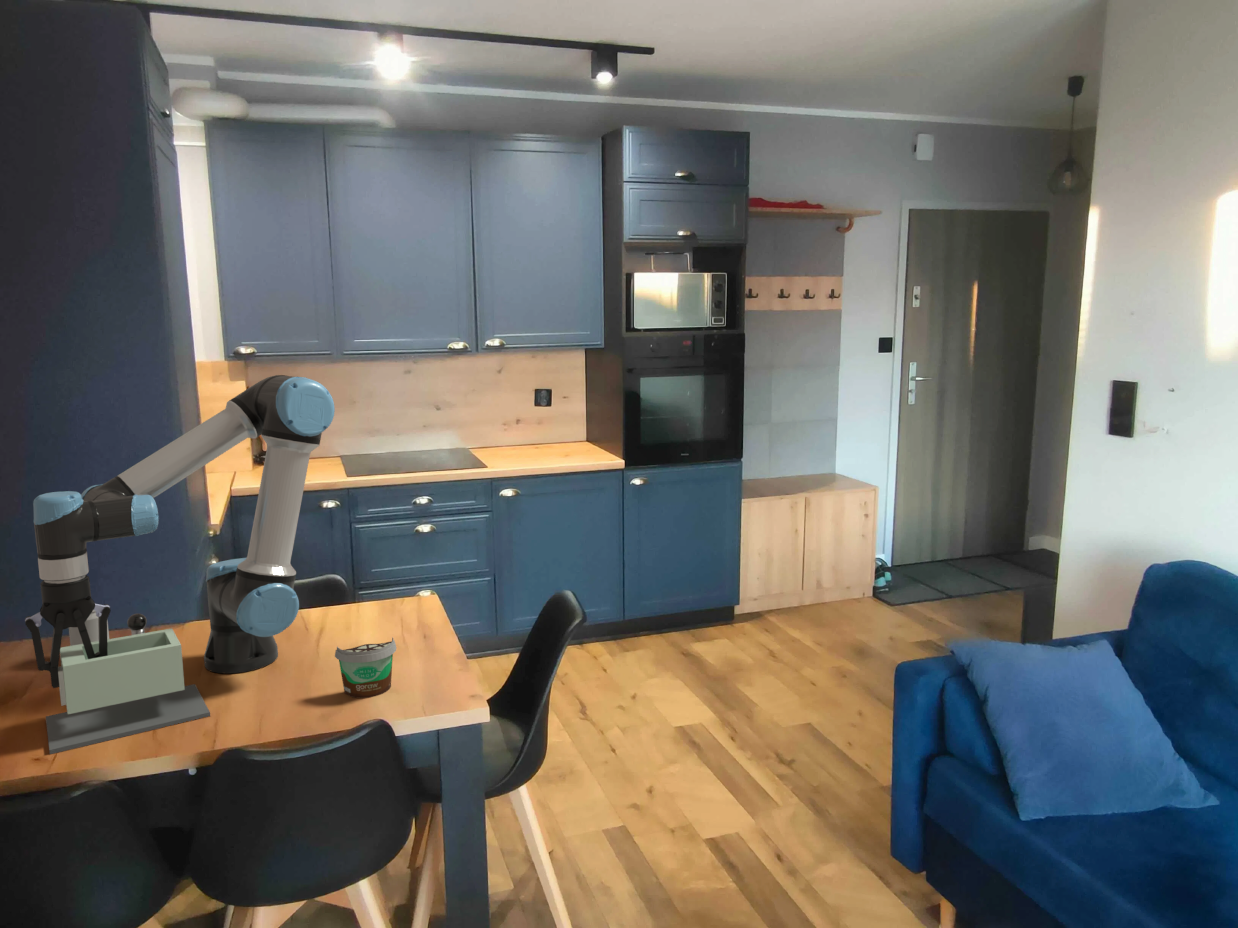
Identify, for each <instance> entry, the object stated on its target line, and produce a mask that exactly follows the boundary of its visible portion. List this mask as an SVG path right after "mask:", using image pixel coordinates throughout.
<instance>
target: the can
mask: <svg viewBox="0 0 1238 928" xmlns="http://www.w3.org/2000/svg"><path fill="white" fill-rule="evenodd" d="M98 618H99V617H97V616H96V611H95V610H93V611H92V613H91V614H90V616H89V617H88V618H87V620H86V621H85V625H86V629H87V632H88V635H89V638H90V641H91V642H96V641H99V626H98ZM68 636H69V644H70V645H69V646H73V645H79V644H83V642H82V639H81V636H80V633H79V630H78V627H69V628H68ZM107 639H110V632H109V622H108V619H107Z"/></svg>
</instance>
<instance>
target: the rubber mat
mask: <svg viewBox="0 0 1238 928" xmlns="http://www.w3.org/2000/svg"><path fill="white" fill-rule="evenodd" d="M184 688H185V690H181V691H176V692H172V693H167V694H162V695H157V696H153V697H148V698H143V699H139V700H134V701H129V702H124V703H120V704H115V705H110V706H105V707H101V708H96V709H91V710H86V711H82V712H77V713H72V714H68V713H67V711H64V712H60V713H54V714H50V715H46V716H45V725H46V731H47V741H48V750H49V755H52V754H53V755H54V754H57V753H61V752H66V751H70V750H73V749H74V750H75V749H78V748H83V747H87V746H90V745H95V744H99V743H104V742H108V741H112V740H115V739H121V738H125V737H129V736H133V735H137V734H142V733H145V731H146V732H149V731H154V730H158V729H162V727H163V728H166V727H165V726H167V727H171V726H174V724H175V725H178V723H179V724H184V723H186V721H188V722H192V721H196V720H200V719H204V718H203V717H205V718H208V716H209V717H211V711H210V710H209V708H208V706H207V704H206V702H205V700H204V698H203V696H202V695H201V692H200V690H199V689H198V687H197V685H196V683H195V684H189V685H184ZM199 718H200V719H199ZM195 719H196V720H195ZM191 720H192V721H191ZM183 722H184V723H183ZM170 725H171V726H170Z"/></svg>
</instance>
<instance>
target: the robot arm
mask: <svg viewBox="0 0 1238 928" xmlns="http://www.w3.org/2000/svg"><path fill="white" fill-rule="evenodd" d="M334 417H335V403H334V398H333V397H332V395H331V393H330V391H329V390H328V389H327V388H326V386H325V385H323V384H322V383H320V382H318V381H317V380H314V379H312V378H308V377H303V376H289V375H283V374H276V375H272V376H271V375H270V376H268V377H266V378H264V379H261V380H259V381H258V382H256V383H255V384H253V385H251V386H250V387H248V388H247V389H245V390H243V391H242V392H241V393H239V394H237V395H236V396H234V397H232V398H231V399H229V400H228V401H226V405H225V408H224V409H223V410H221V411H220V412H218V413H217V414H215V415H213V416H211V417H210V418H207V419H206V420H205V421H203V422H201V423H200V424H198V425H197V426H195V427H194V428H192V429H190V430H189V431H187V432H185V433H184V434H182V435H181V436H179V437H178V438H176V439H174V440H173V441H171V442H169V443H168V444H166V445H164V446H163V447H161V448H159V449H158V450H156V451H155V452H153V453H152V454H150V455H149V456H147V457H146V458H143V459H142V460H141V461H139V462H137V463H135V464H134V465H133V466H130V467H129V468H128V469H125V471H123V472H121V473H120V474H117V476H114V477H112V478H111V479H109V480H108V481H106V482H104V483H101V484H95V485H91V486H89V487H87V488H86V489H84V490H83V492H82V493H80V492H78V491H74V490H73V491H71V490H68V491H66V490H65V491H54V492H53V491H52V492H46V493H43V494H39V495H38V496H36V497H35V498H34V499H33V503H32V505H33V526H34V535H35V544H36V552H37V563H38V571H39V572H38V573H39V574H38V575H39V579H40V580H42V581H41V582H40V593H41V601H42V605H41V607H40V609H39V612H37V613H35V614H34V615H32V616H31V615H27V616H26V617H25V618H24V622H25V623H24V624H25V626H26V627H27V629H28V630H29V632H30V634H31V640H32V644H33V649H34V655H35V659H36V660H35V661H36V665H37V669H38V671H42V672H43V671H48V672H49V673H50V684H51V687H52V689H56V688H59V697H60V704H61V707H62V706H66V697H65V687H64V677H63V669H62V666H59V664H60V648H61V647H62V636H63V630H66V629H69V627H78V630H79V633H80V636H81V639H82V642H83V645H84V648H85V651H86V654H87V657H88V659H92V658H98V657H103V656H108V649H107V620H108V619H109V616H110V613H111V606H110V605H109V604H107V603H104V604H98V603H96V602H95V601H94V599H93V598H92V593H91V581H90V576H88V575H87V574H88V573H89V571H90V568H89V563H88V562H89V560H88V551H87V543H90V542H92V543H93V542H97V541H104V540H105V541H106V540H113V539H120V538H128V537H138V536H141V535H146V534H151V533H155V531H156V530H157V529H158V526H159V509H158V505H157V503H156V500H155V498H156V497H158V496H159V495H161V494H162V493H164V492H165V491H167V490H169V489H170V488H171V487H173V486H174V485H176V484H178V483H180V482H181V481H183V480H184V479H185V478H187V477H189V476H190V475H192V474H193V473H195V472H197V471H198V470H200V469H201V468H203V467H204V466H207V465H208V464H209V463H210V462H212V461H214V460H215V459H216V458H219V456H221V455H223V454H224V453H226V452H228V451H229V450H231V449H232V448H234V447H235V446H237V445H239V444H240V443H242V442H243V441H245V440H246V439H257V438H258V437H260V436H261V438H262V440H263V441H264V442H265V443H266V446H267V447H266V453H265V457H264V463H263V468H262V474H261V478H260V484H259V488H258V489H259V490H258V495H257V501H256V507H255V511H254V512H255V513H254V519H253V523H252V529H251V534H250V539H249V545H248V551H247V556H246V557H242V558H241V557H240V558H239V557H238V558H231V559H228V560H223V561H221V560H220V561H218V562H215V563H213V564H210V565H209V566H208V567H207V568H206V572H205V573H206V576H205V577H206V579H205V583H206V591H207V601H208V603H207V604H208V612H209V626H210V633H209V637H208V640H207V644H206V648H205V651H204V655H203V661H204V668H206V670H208V671H210V672H214V673H217V674H237V673H239V674H240V673H244V672H250V671H255V670H258V669H262V668H264V667H267V666H269V665H270V664H272V663H273V662H275V661H276V660H277V659H278V657H279V652H278V651H279V650H278V649H279V647H278V644H277V642H276V639H275V637H274V636H276V635H278V634H280V633H282V632H284V631H285V630H286V629H287V628H289V627H290V626H291V625H292V624H293V623H294V621H295V620H296V618H297V617H298V616H297V615H298V613H299V610H300V601H299V597H298V595H297V593H296V591H295V590H294V587H295V582H296V577H297V576H296V575H297V571H296V569H295V568H294V567H293V566H292V564H291V561H292V556H293V549H294V546H295V539H296V533H297V528H298V522H299V516H300V511H301V507H302V506H301V505H302V501H303V494H304V489H305V484H306V479H307V472H308V468H309V462H310V456H311V453H312V452H313V451H314V450H316V449H317V448H319V447H320V446H321V445H320V444H321V439H322V435H323V434H322V433H323V432H325V431H326V429H328V428H329V427H330V426H331V424H332V422H333V419H334ZM93 610H95V611H96V616H97V617H99V618H98V626H99V652H97V653H94V650H93V647H92V644H91V641H90V638H89V635H88V632H87V629H86V625H85V621H86V620H87V618H88V617H89V616H90V614H91V613H92V611H93ZM42 619H44V620H45V621H46V622H47V623H49V624H50V625H51V626H52V627H53V630H52V631H53V632H52V640H51V649H50V657H49V658H50V659H49V661H46V658H45V653H44V649H43V648H44V647H43V644H42V643H43V642H42V638H41V632H40V628H39V627H40V626H41V625H42Z"/></svg>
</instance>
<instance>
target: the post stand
mask: <svg viewBox="0 0 1238 928" xmlns="http://www.w3.org/2000/svg"><path fill="white" fill-rule="evenodd" d="M126 623H127V627H128V629H130V632H131V635H136V634H142V633H146V632H145V628H146V626H147V623H148V619H147V617H146V616H145V615H144V614H142V613H133V614H131V615H130V616H128V618H127V622H126Z"/></svg>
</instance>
